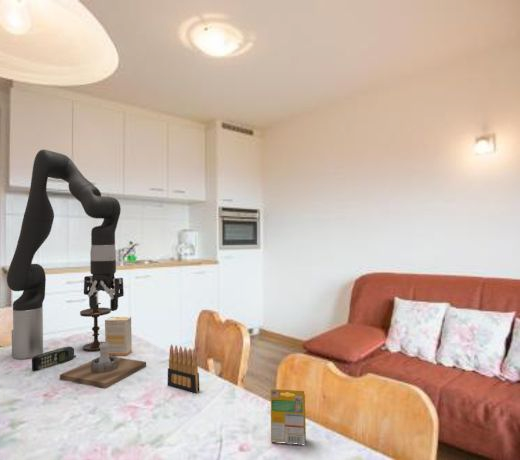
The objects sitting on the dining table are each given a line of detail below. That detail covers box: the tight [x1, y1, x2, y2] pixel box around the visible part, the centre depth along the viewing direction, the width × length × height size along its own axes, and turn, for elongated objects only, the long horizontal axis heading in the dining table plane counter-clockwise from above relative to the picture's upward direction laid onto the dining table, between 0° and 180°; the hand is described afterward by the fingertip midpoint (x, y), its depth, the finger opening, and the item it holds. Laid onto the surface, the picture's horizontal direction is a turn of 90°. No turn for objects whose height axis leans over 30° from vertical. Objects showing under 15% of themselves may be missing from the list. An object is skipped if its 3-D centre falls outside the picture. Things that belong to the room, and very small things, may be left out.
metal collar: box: [91, 355, 120, 373], centre depth 117 cm, size 8×8×2 cm
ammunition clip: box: [166, 344, 200, 394], centre depth 105 cm, size 11×2×12 cm, turn 60°
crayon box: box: [270, 388, 307, 445], centre depth 79 cm, size 7×3×12 cm, turn 81°
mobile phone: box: [31, 346, 77, 372], centre depth 125 cm, size 5×3×15 cm
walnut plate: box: [59, 357, 147, 389], centre depth 117 cm, size 18×18×2 cm
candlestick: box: [79, 292, 112, 353], centre depth 142 cm, size 11×11×35 cm
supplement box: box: [104, 316, 133, 356], centre depth 135 cm, size 8×5×13 cm, turn 84°
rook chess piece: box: [98, 341, 111, 363], centre depth 117 cm, size 4×4×8 cm
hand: (103, 309), depth 117 cm, fingers open, 8 cm apart
